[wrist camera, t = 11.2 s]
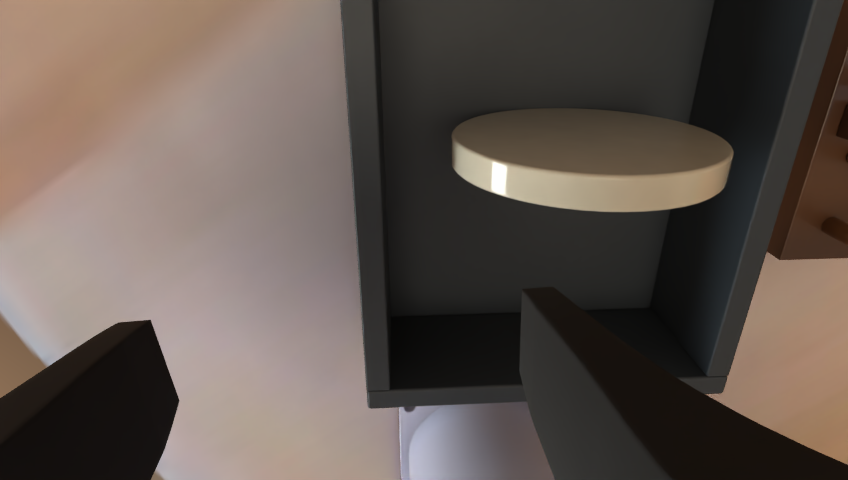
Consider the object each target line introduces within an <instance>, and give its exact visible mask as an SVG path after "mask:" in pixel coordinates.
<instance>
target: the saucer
mask: <svg viewBox="0 0 848 480" xmlns="http://www.w3.org/2000/svg"><path fill="white" fill-rule="evenodd" d="M733 157H734V152H733V147H732V146H731V145H730V143H729V142H727V141H726V140H725V139H724V138H722V137H720V136H718V135H716V134H714V133H712V132H710V131H707V130H705V129H702V128H699V127H696V126H693V125H690V124H686V123H683V122H679V121H674V120H670V119H665V118H660V117H655V116H649V115H643V114H636V113H628V112H619V111H609V110H597V109H576V108H539V109H522V110H511V111H503V112H496V113H491V114H486V115H482V116H478V117H474V118H472V119H469V120H466V121H464V122H462V123H460V124H459V125H457V126H456V127H455V128H454V130H453V131H452V133H451V164H452V167H453V169H454V171H455V172H456V173H457V174H458V175H459V176H460V177H462V178H463V179H464V180H466V181H467V182H469V183H471V184H473V185H475V186H477V187H479V188H481V189H484V190H486V191H489V192H492V193H495V194H498V195H501V196H504V197H508V198H511V199H515V200H519V201H523V202H528V203H533V204H538V205H544V206H550V207H556V208H564V209H573V210H583V211H598V212H646V211H658V210H668V209H674V208H681V207H686V206H690V205H694V204H698V203H701V202H703V201H706V200H709V199H711V198H713V197H714V196H716V195H718V194H719V193H720V192H721V191H722V190H723V189H724V188H725V186H726V184H727V181H728V177H729V173H730V169H731V165H732V161H733Z"/></svg>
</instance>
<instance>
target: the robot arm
mask: <svg viewBox="0 0 848 480" xmlns="http://www.w3.org/2000/svg"><path fill="white" fill-rule="evenodd" d="M519 371H520V375H521V379H522V384H523V388H524V392H525V396H526V400H527V402H509V403H486V404H463V405H439V406H416V407H399V429H400V458H401V480H848V465H847V464H844V463H842V462H840V461H837V460H835V459H833V458H831V457H828V456H826V455H824V454H822V453H819V452H817V451H815V450H812V449H810V448H808V447H806V446H804V445H802V444H800V443H798V442H796V441H793V440H791V439H789V438H787V437H785V436H783V435H781V434H779V433H777V432H775V431H773V430H771V429H768V428H766V427H764V426H762V425H760V424H758V423H756V422H754V421H752V420H751V419H749V418H747V417H745V416H743V415H741V414H739V413H737V412H735V411H733V410H732V409H730V408H728V407H726V406H725V405H723V404H721V403H719V402H717V401H716V400H714V399H712V398H710V397H709V396H707V395H705V394H703V393H701V392H700V391H698V390H696V389H694V388H693V387H691V386H690V385H688V384H686V383H685V382H683V381H681V380H680V379H678V378H677V377H675V376H673V375H672V374H670V373H669V372H667V371H666V370H664V369H663V368H661V367H660V366H658V365H657V364H655V363H654V362H652V361H651V360H649V359H648V358H646V357H645V356H643V355H642V354H641V353H639V352H638V351H636V350H635V349H633V348H632V347H631V346H629V345H628V344H626V343H625V342H624V341H622V340H621V339H620V338H618V337H617V336H616V335H614V334H613V333H612V332H610V331H609V330H608V329H606V328H605V327H604V326H602V325H601V324H600V323H599V322H597V321H596V320H595V319H593V318H592V317H591V316H590V315H588V314H587V313H586V312H585V311H583V310H582V309H581V308H580V307H578V306H577V305H576V304H575V303H573V302H572V301H571V300H570V299H568V298H567V297H566V296H565V295H563V294H562V293H561V292H559V291H558V290H557V289H555V288H554V287H542V288H530V289H522V305H521V337H520V368H519ZM178 403H179V398H178V395H177V393H176V390H175V387H174V384H173V382H172V379H171V376H170V373H169V370H168V368H167V365H166V362H165V359H164V356H163V354H162V351H161V348H160V345H159V342H158V340H157V337H156V334H155V331H154V328H153V326H152V323H151V320H144V321H132V322H120V323H117V324H115V325H113V326H111V327H110V328H108V329H106V330H104V331H103V332H101V333H99V334H98V335H96V336H94V337H93V338H91V339H90V340H88V341H86V342H85V343H83V344H82V345H80V346H79V347H77V348H76V349H74V350H73V351H71V352H70V353H68V354H67V355H65V356H64V357H62V358H61V359H59V360H58V361H56V362H55V363H53V364H52V365H50V366H49V367H47V368H46V369H44V370H42V371H41V372H40V373H38V374H36V375H35V376H34V377H32V378H30V379H29V380H27V381H26V382H24V383H23V384H21V385H20V386H18V387H17V388H15V389H14V390H12V391H11V392H9V393H8V394H6V395H5V396H3V397H2V398H0V480H151V478H152V475H153V474H154V471H155V469H156V467H157V465H158V463H159V460H160V458H161V456H162V454H163V451H164V449H165V446H166V443H167V440H168V437H169V434H170V431H171V428H172V424H173V421H174V417H175V414H176V410H177V407H178Z"/></svg>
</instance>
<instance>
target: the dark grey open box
mask: <svg viewBox="0 0 848 480" xmlns="http://www.w3.org/2000/svg"><path fill="white" fill-rule="evenodd" d="M843 2H844V0H340V5H341V19H342V34H343V49H344V64H345V78H346V93H347V108H348V123H349V137H350V152H351V167H352V182H353V196H354V211H355V226H356V241H357V256H358V270H359V285H360V300H361V315H362V329H363V344H364V359H365V374H366V388H367V402H368V407H369V408H393V407H416V406H439V405H463V404H486V403H509V402H527V400H526V396H525V392H524V388H523V384H522V379H521V375H520V371H519V368H520V337H521V305H522V289H530V288H542V287H554V288H555V289H557V290H558V291H559V292H561V293H562V294H563V295H565V296H566V297H567V298H568V299H570V300H571V301H572V302H573V303H575V304H576V305H577V306H578V307H580V308H581V309H582V310H583V311H585V312H586V313H587V314H588V315H590V316H591V317H592V318H593V319H595V320H596V321H597V322H599V323H600V324H601V325H602V326H604V327H605V328H606V329H608V330H609V331H610V332H612V333H613V334H614V335H616V336H617V337H618V338H620V339H621V340H622V341H624V342H625V343H626V344H628V345H629V346H631V347H632V348H633V349H635V350H636V351H638V352H639V353H641V354H642V355H643V356H645V357H646V358H648V359H649V360H651V361H652V362H654V363H655V364H657V365H658V366H660V367H661V368H663V369H664V370H666V371H667V372H669V373H670V374H672V375H673V376H675V377H677V378H678V379H680V380H681V381H683V382H685V383H686V384H688V385H690V386H691V387H693V388H694V389H696V390H698V391H700V392H701V393H703V394H717V393H722V392H723V390H724V387H725V384H726V380H727V375H729V372H730V369H731V365H732V362H733V359H734V356H735V352H736V349H737V346H738V343H739V339H740V336H741V333H742V330H743V326H744V323H745V320H746V317H747V313H748V310H749V307H750V304H751V300H752V297H753V294H754V291H755V287H756V284H757V281H758V278H759V274H760V271H761V268H762V265H763V261H764V258H765V255H766V252H767V248H768V245H769V242H770V239H771V235H772V232H773V229H774V226H775V222H776V219H777V216H778V213H779V210H780V206H781V203H782V200H783V197H784V193H785V190H786V187H787V184H788V180H789V177H790V174H791V171H792V167H793V164H794V161H795V158H796V154H797V151H798V148H799V145H800V141H801V138H802V135H803V132H804V128H805V125H806V122H807V119H808V115H809V112H810V109H811V106H812V102H813V99H814V96H815V93H816V89H817V86H818V83H819V80H820V76H821V73H822V70H823V67H824V63H825V60H826V57H827V54H828V50H829V47H830V44H831V41H832V38H833V34H834V31H835V28H836V25H837V21H838V18H839V15H840V12H841V8H842V5H843ZM539 108H576V109H597V110H609V111H619V112H628V113H636V114H643V115H649V116H655V117H660V118H665V119H670V120H674V121H679V122H683V123H686V124H690V125H693V126H696V127H699V128H702V129H705V130H707V131H710V132H712V133H714V134H716V135H718V136H720V137H722V138H724V139H725V140H726V141H727V142H729V143H730V145H731V146H732V147H733V152H734V157H733V161H732V165H731V169H730V173H729V177H728V181H727V184H726V186H725V188H724V189H723V190H722V191H721V192H720V193H719V194H718V195H716V196H714V197H713V198H711V199H709V200H706V201H703V202H701V203H698V204H694V205H690V206H686V207H681V208H674V209H668V210H658V211H646V212H598V211H583V210H573V209H564V208H556V207H550V206H544V205H538V204H533V203H528V202H523V201H519V200H515V199H511V198H508V197H504V196H501V195H498V194H495V193H492V192H489V191H486V190H484V189H481V188H479V187H477V186H475V185H473V184H471V183H469V182H467V181H466V180H464V179H463V178H462V177H460V176H459V175H458V174H457V173H456V172H455V171H454V169H453V167H452V164H451V133H452V131H453V130H454V128H455V127H456V126H457V125H459V124H460V123H462V122H464V121H466V120H469V119H472V118H474V117H478V116H482V115H486V114H491V113H496V112H503V111H511V110H522V109H539Z"/></svg>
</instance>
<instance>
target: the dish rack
mask: <svg viewBox="0 0 848 480" xmlns="http://www.w3.org/2000/svg"><path fill="white" fill-rule="evenodd" d="M767 252H769V253H770V254H772V255H773V256H774V257H776V258H777V259H779V260H794V259H826V258H848V0H844V2H843V5H842V8H841V12H840V15H839V18H838V21H837V25H836V28H835V31H834V34H833V38H832V41H831V44H830V47H829V50H828V54H827V57H826V60H825V63H824V67H823V70H822V73H821V76H820V80H819V83H818V86H817V89H816V93H815V96H814V99H813V102H812V106H811V109H810V112H809V115H808V119H807V122H806V125H805V128H804V132H803V135H802V138H801V141H800V145H799V148H798V151H797V154H796V158H795V161H794V164H793V167H792V171H791V174H790V177H789V180H788V184H787V187H786V190H785V193H784V197H783V200H782V203H781V206H780V210H779V213H778V216H777V219H776V222H775V226H774V229H773V232H772V235H771V239H770V242H769V245H768V248H767Z"/></svg>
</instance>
